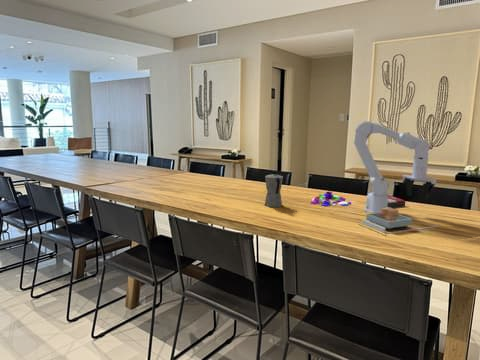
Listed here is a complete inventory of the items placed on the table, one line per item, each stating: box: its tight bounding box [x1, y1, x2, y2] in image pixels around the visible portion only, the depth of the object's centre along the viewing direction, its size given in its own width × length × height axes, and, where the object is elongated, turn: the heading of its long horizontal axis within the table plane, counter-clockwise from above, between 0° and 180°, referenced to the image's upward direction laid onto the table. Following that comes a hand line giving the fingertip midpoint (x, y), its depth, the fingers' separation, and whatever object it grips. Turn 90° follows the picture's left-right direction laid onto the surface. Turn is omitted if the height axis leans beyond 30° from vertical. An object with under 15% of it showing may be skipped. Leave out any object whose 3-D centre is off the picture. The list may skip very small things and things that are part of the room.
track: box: [357, 219, 438, 237], centre depth 142 cm, size 16×28×3 cm, turn 111°
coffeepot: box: [264, 170, 284, 208], centre depth 174 cm, size 15×9×18 cm, turn 10°
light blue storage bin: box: [365, 212, 414, 231], centre depth 140 cm, size 12×12×4 cm
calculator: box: [387, 195, 406, 209], centre depth 181 cm, size 11×4×15 cm
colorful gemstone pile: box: [310, 190, 352, 207], centre depth 185 cm, size 25×20×4 cm
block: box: [381, 207, 399, 221], centre depth 139 cm, size 4×4×5 cm
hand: (417, 197), depth 154 cm, fingers open, 7 cm apart
